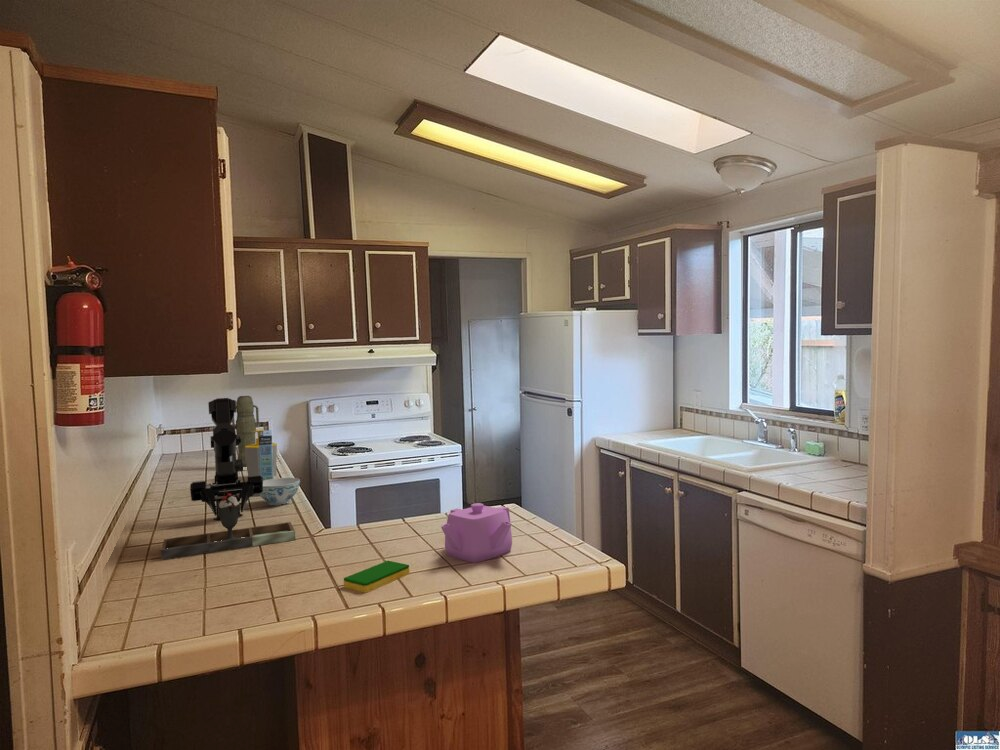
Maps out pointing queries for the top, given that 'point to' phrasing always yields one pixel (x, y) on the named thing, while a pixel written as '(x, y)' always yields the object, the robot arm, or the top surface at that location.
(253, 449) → the soap bottle
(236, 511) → the sundae
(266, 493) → the chinaware
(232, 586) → the top surface
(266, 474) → the blue flat box
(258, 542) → the tray
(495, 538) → the teakettle
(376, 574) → the dish sponge
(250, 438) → the thermos
